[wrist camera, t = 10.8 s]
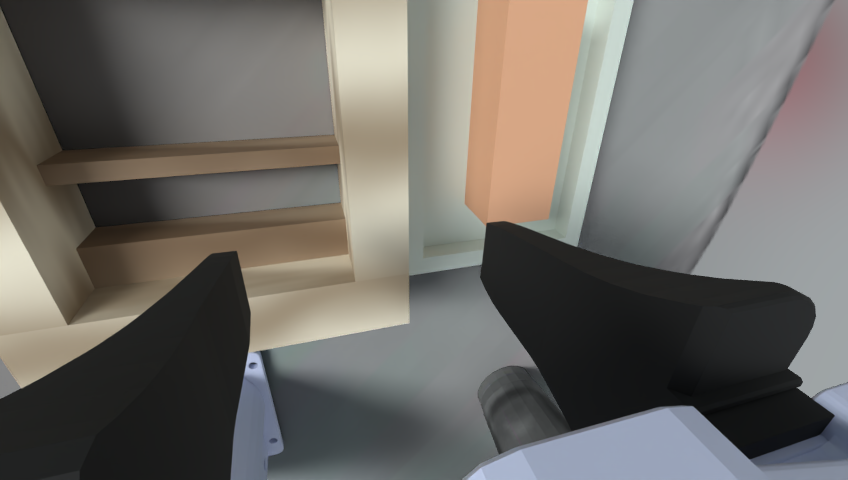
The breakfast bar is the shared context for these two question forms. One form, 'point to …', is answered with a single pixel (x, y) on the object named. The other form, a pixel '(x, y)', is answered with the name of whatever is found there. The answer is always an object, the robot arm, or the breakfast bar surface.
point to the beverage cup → (518, 409)
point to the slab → (520, 105)
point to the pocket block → (201, 236)
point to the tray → (450, 122)
